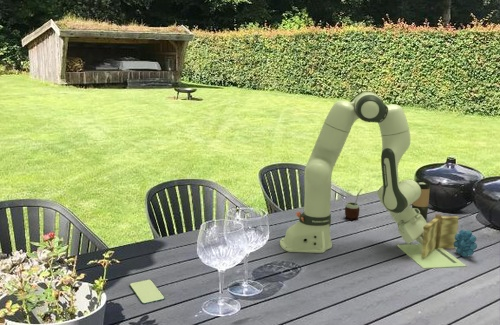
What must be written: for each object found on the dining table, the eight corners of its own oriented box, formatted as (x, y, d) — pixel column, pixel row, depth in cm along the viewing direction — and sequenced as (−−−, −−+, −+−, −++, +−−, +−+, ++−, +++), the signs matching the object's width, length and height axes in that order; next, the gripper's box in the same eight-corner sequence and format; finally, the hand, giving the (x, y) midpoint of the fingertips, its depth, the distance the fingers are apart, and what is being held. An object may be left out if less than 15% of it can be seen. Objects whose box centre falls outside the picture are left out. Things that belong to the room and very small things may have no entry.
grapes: (482, 260, 207) (486, 232, 204) (469, 263, 204) (473, 234, 202) (461, 250, 217) (464, 223, 215) (448, 252, 215) (451, 225, 212)
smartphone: (165, 300, 171) (150, 281, 184) (165, 298, 171) (150, 279, 184) (142, 306, 167) (128, 285, 181) (142, 303, 167) (128, 283, 180)
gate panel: (425, 258, 206) (428, 227, 203) (420, 257, 207) (423, 226, 204) (436, 248, 217) (439, 218, 214) (431, 247, 218) (434, 218, 215)
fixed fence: (433, 249, 218) (437, 216, 214) (431, 247, 220) (434, 214, 217) (456, 248, 219) (459, 215, 216) (453, 246, 221) (456, 213, 218)
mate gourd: (343, 220, 254) (345, 191, 250) (345, 215, 261) (347, 187, 258) (359, 222, 251) (360, 192, 248) (360, 217, 259) (362, 188, 256)
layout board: (423, 268, 198) (423, 267, 198) (396, 245, 221) (397, 244, 221) (466, 266, 201) (466, 265, 201) (435, 244, 224) (435, 243, 224)
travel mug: (424, 219, 258) (428, 180, 253) (428, 224, 250) (432, 184, 246) (409, 218, 258) (412, 180, 254) (412, 223, 251) (415, 184, 247)
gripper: (402, 220, 205) (423, 249, 202) (419, 207, 221) (439, 234, 218) (390, 228, 209) (411, 256, 206) (408, 215, 225) (428, 241, 222)
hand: (426, 245), depth 212 cm, fingers closed, pressing on gate panel
